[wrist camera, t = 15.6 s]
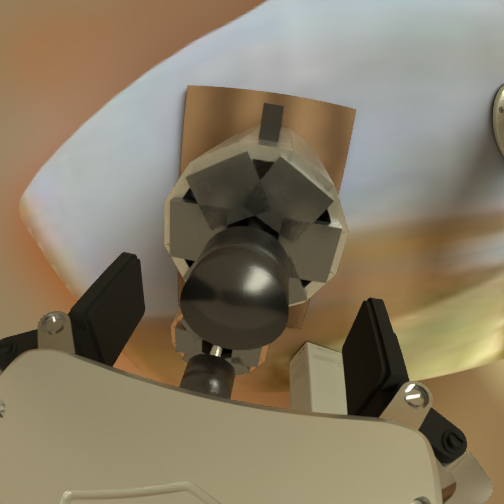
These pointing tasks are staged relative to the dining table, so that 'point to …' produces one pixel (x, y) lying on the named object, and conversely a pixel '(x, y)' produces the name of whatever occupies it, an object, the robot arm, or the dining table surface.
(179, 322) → the copper press
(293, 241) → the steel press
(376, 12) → the dining table surface
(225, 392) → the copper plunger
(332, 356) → the skincare box
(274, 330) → the steel plunger
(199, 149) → the walnut board
